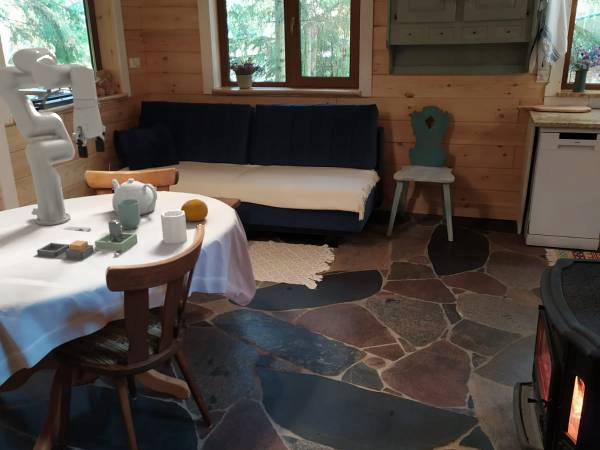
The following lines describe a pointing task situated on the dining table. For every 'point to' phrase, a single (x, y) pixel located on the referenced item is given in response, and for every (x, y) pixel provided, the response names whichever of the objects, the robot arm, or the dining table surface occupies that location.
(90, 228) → the handheld gaming console
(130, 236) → the green square tray
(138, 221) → the cup
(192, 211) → the fruit
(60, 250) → the grey two-pocket panel
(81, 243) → the orange block
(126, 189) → the teapot
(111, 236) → the cylinder
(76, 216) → the dining table surface
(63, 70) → the robot arm
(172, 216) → the mug
